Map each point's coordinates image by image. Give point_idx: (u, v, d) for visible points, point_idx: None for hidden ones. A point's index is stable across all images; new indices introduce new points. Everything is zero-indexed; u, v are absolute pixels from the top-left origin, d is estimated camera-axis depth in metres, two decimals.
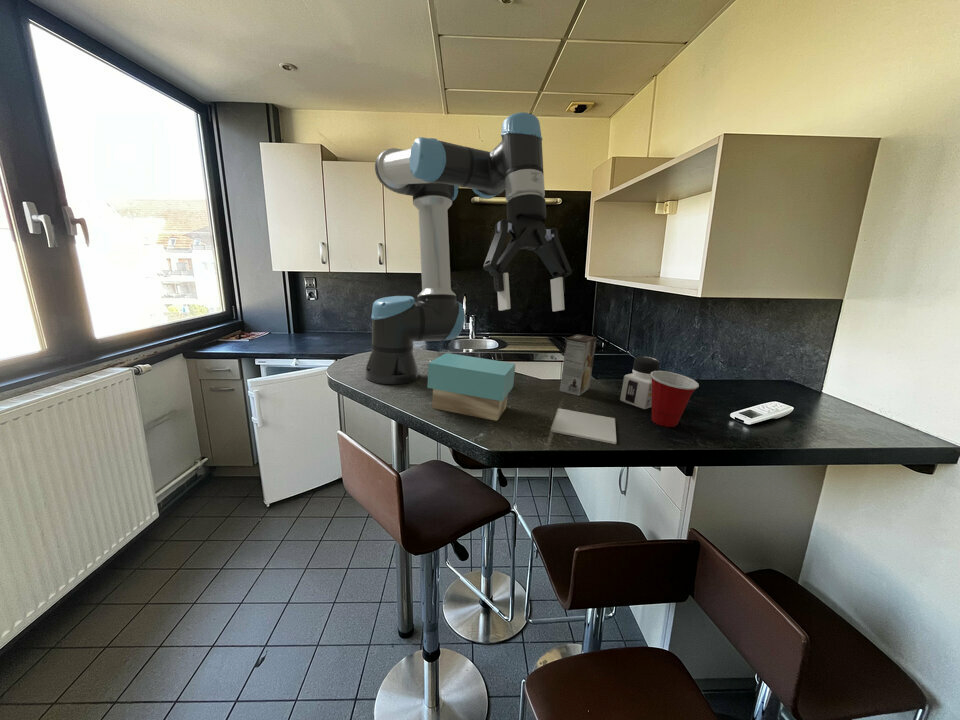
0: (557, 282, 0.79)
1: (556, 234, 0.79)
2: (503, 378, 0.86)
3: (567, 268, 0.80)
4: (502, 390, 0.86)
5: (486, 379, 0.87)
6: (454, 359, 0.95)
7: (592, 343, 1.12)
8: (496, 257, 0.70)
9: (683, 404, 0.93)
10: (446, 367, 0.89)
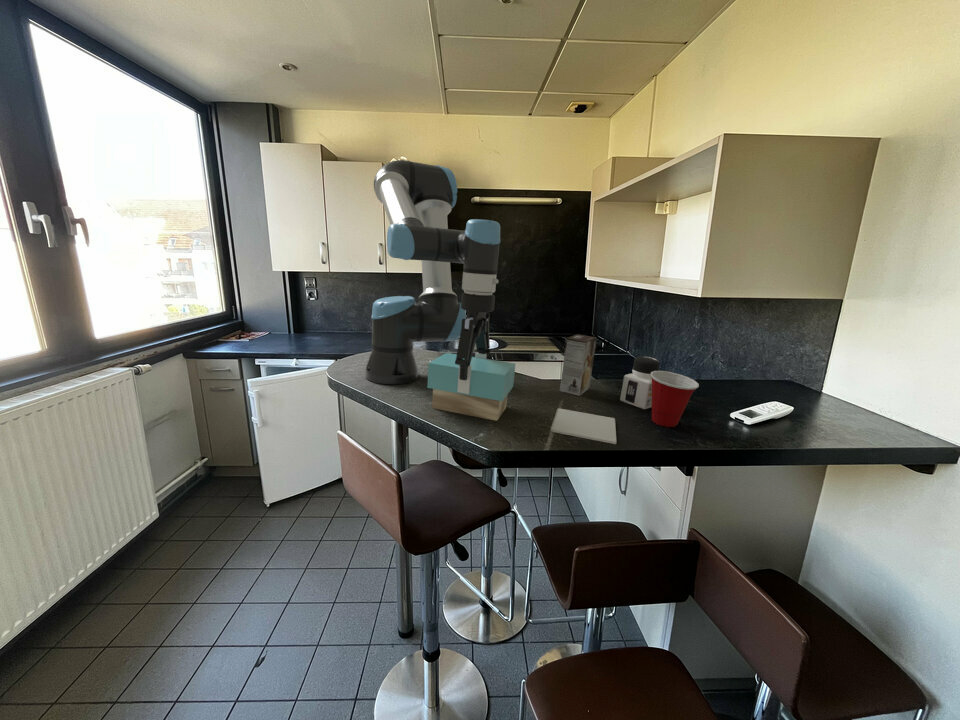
0: None
1: None
2: (503, 378, 0.86)
3: (488, 344, 0.99)
4: (502, 390, 0.86)
5: (486, 379, 0.87)
6: (454, 359, 0.95)
7: (592, 343, 1.12)
8: (468, 355, 0.84)
9: (683, 404, 0.93)
10: (446, 367, 0.89)
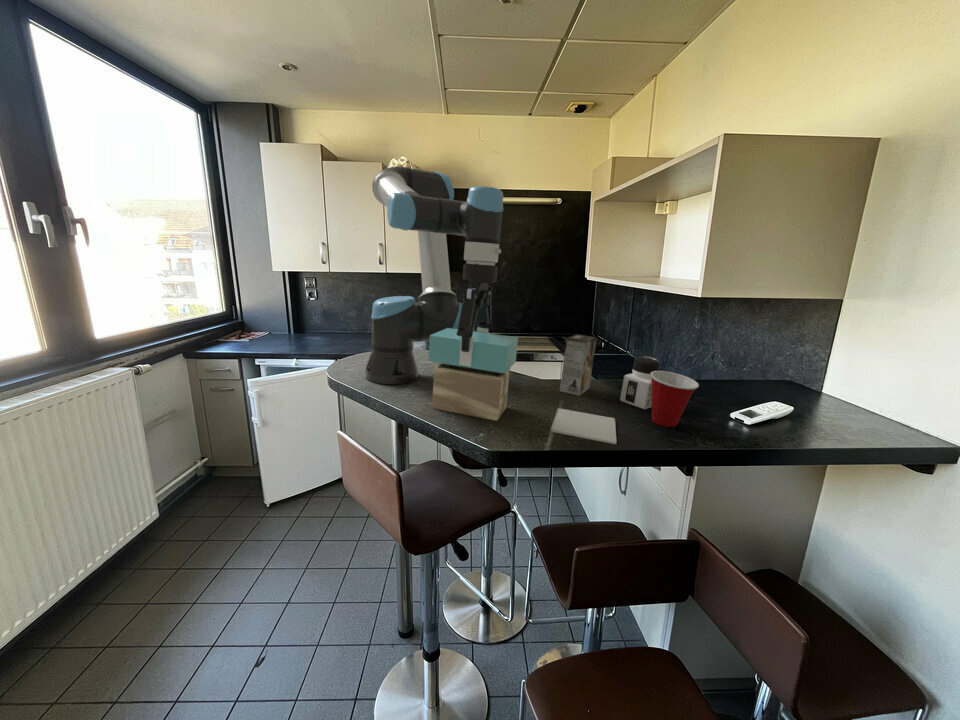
0: (484, 332, 0.96)
1: (491, 291, 0.94)
2: (506, 349, 0.84)
3: (490, 319, 0.98)
4: (505, 362, 0.85)
5: (489, 351, 0.85)
6: (456, 333, 0.93)
7: (592, 343, 1.12)
8: (470, 326, 0.83)
9: (683, 404, 0.93)
10: (448, 339, 0.87)
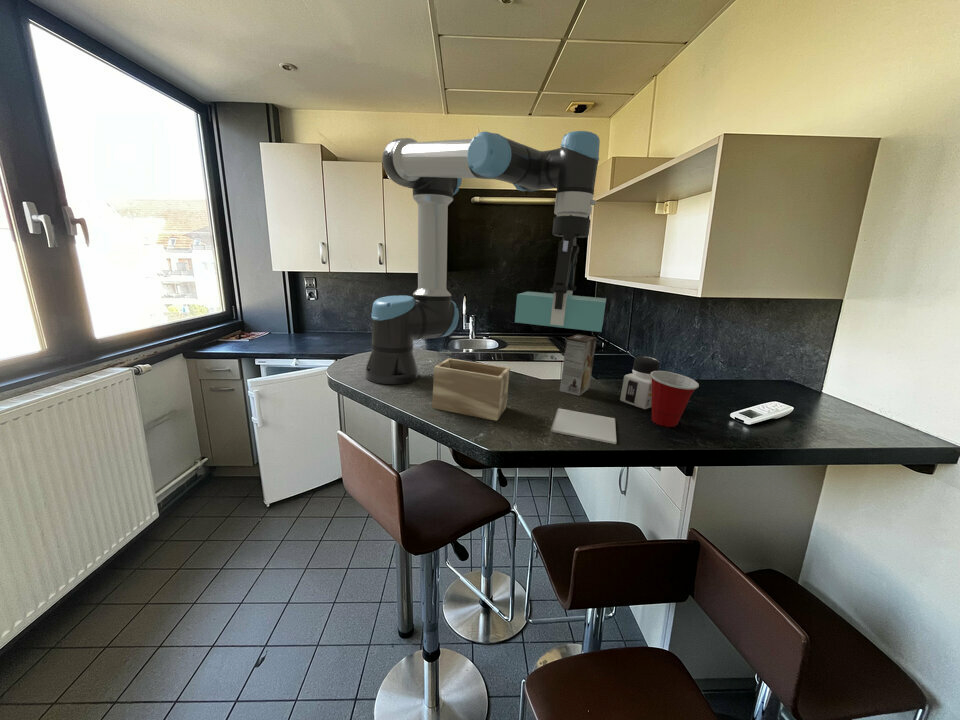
0: (568, 294, 0.91)
1: None
2: (603, 305, 0.79)
3: (573, 281, 0.92)
4: (601, 319, 0.79)
5: (584, 308, 0.80)
6: None
7: (592, 343, 1.12)
8: (566, 280, 0.77)
9: (683, 404, 0.93)
10: (537, 297, 0.82)
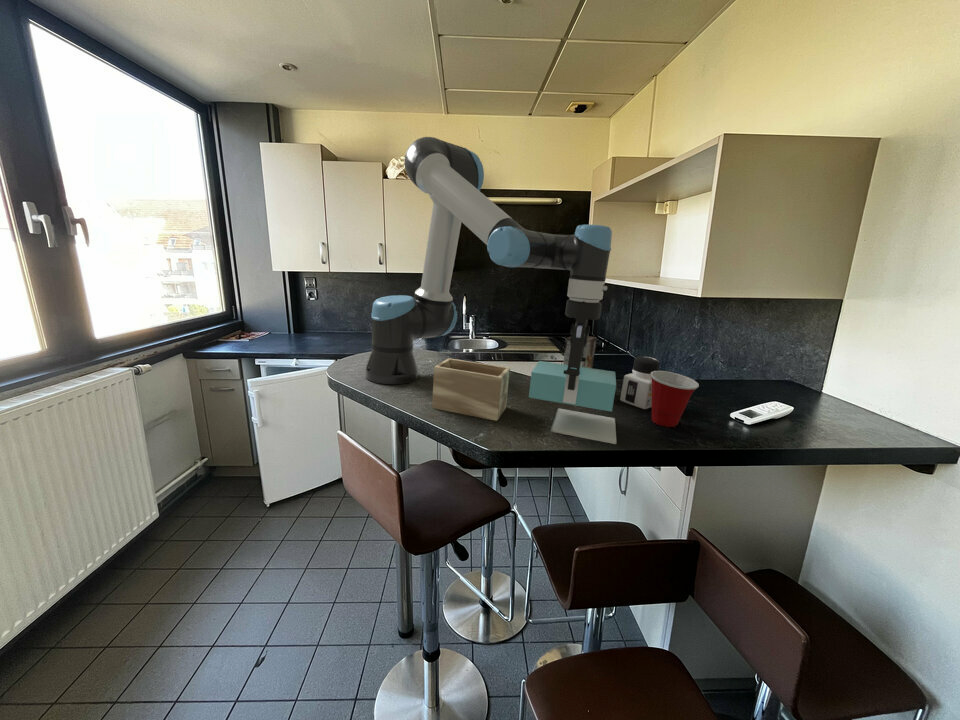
0: None
1: None
2: (614, 388, 0.83)
3: None
4: (612, 400, 0.84)
5: (595, 388, 0.84)
6: (553, 367, 0.92)
7: (592, 343, 1.12)
8: (580, 365, 0.82)
9: (683, 404, 0.93)
10: (551, 376, 0.86)
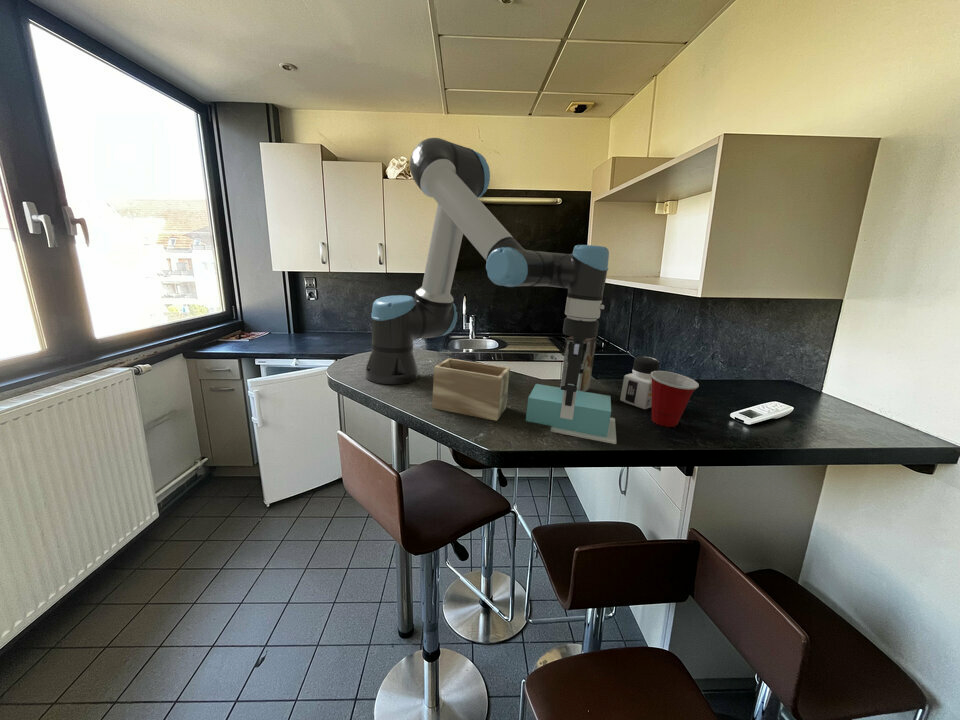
0: None
1: (584, 340, 0.94)
2: (609, 414, 0.85)
3: None
4: (607, 426, 0.85)
5: (591, 415, 0.86)
6: (549, 391, 0.94)
7: (592, 343, 1.12)
8: (577, 381, 0.82)
9: (683, 404, 0.93)
10: (547, 402, 0.88)
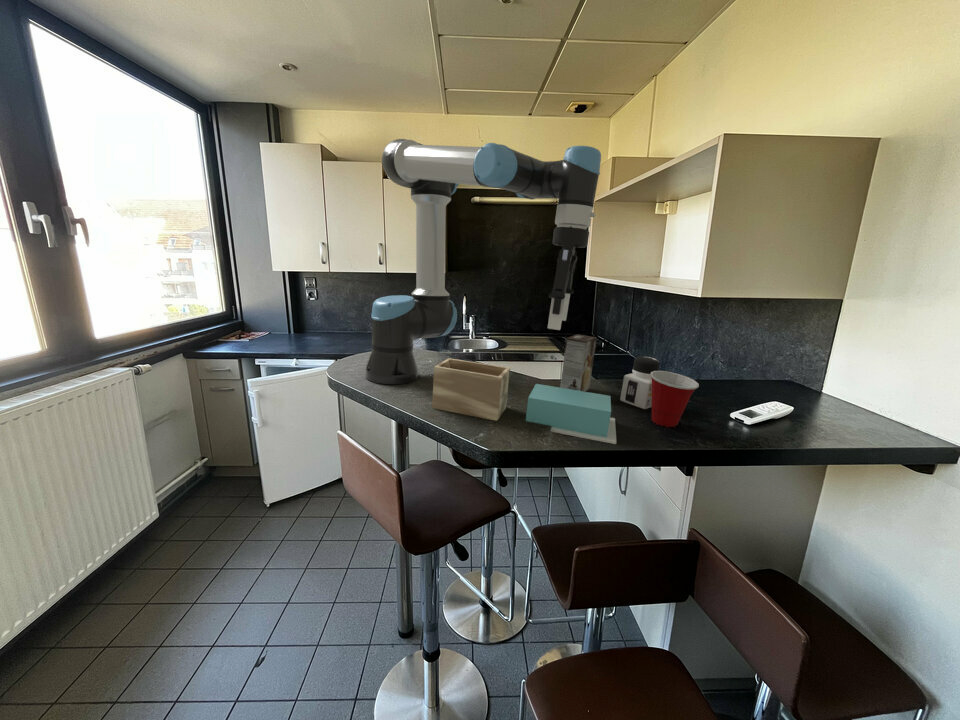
0: (566, 297, 0.95)
1: None
2: (609, 414, 0.85)
3: (571, 285, 0.97)
4: (607, 426, 0.85)
5: (591, 415, 0.86)
6: (549, 391, 0.94)
7: (592, 343, 1.12)
8: (565, 287, 0.80)
9: (683, 404, 0.93)
10: (547, 402, 0.88)
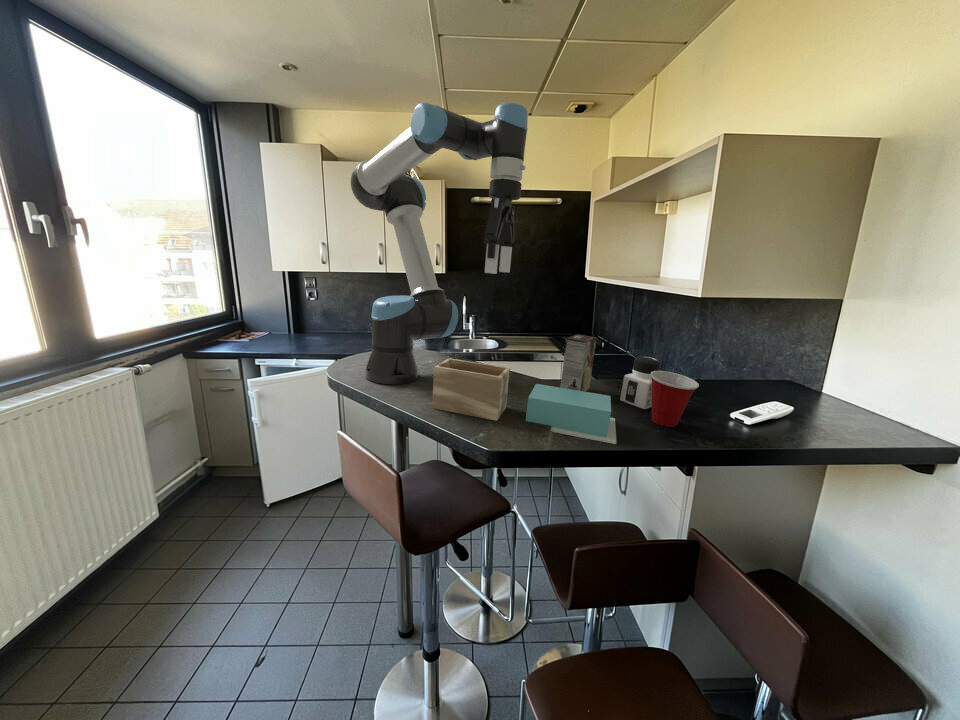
0: (508, 250, 1.03)
1: None
2: (609, 414, 0.85)
3: (513, 239, 1.04)
4: (607, 426, 0.85)
5: (591, 415, 0.86)
6: (549, 391, 0.94)
7: (592, 343, 1.12)
8: (496, 231, 0.88)
9: (683, 404, 0.93)
10: (547, 402, 0.88)
